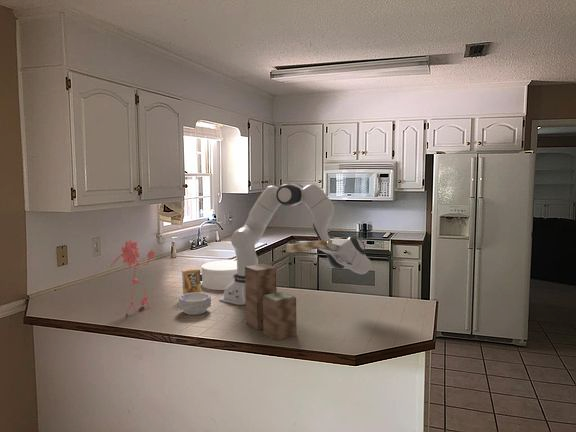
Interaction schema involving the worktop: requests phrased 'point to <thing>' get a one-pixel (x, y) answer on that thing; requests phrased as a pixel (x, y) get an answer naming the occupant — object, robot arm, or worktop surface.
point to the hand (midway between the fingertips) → (323, 242)
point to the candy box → (191, 281)
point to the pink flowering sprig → (130, 257)
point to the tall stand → (258, 291)
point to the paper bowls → (194, 303)
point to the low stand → (279, 315)
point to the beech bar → (307, 245)
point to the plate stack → (218, 274)
